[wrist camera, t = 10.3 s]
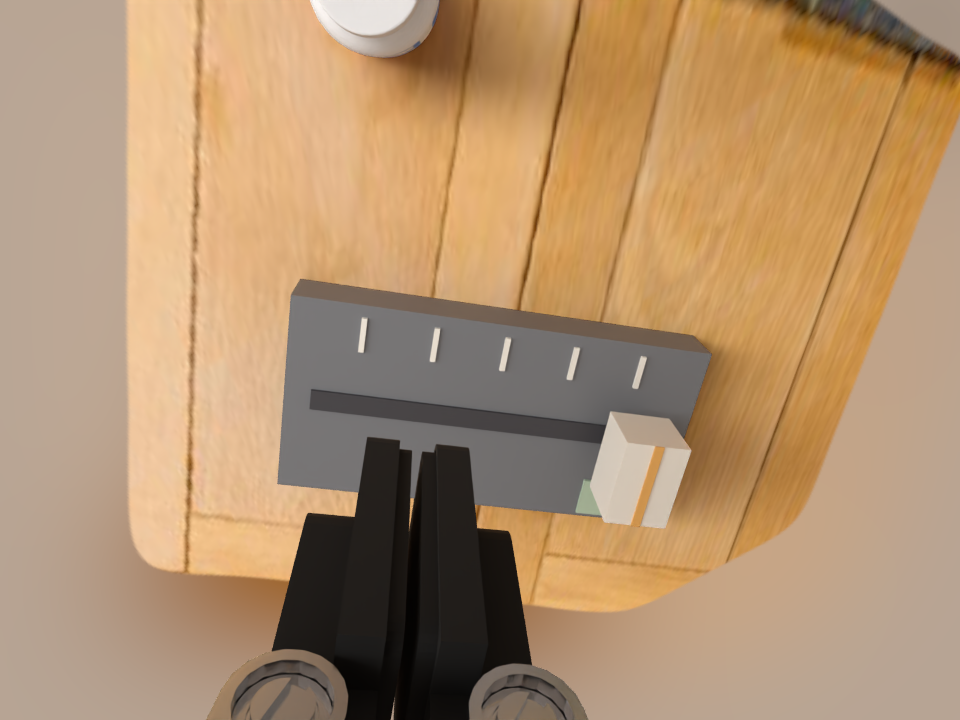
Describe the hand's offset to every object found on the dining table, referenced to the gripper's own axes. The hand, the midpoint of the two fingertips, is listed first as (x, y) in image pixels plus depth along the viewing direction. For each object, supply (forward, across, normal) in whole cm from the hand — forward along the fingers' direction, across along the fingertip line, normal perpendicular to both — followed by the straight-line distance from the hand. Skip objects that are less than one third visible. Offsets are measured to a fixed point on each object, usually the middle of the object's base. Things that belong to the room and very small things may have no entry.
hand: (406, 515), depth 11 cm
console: (+28, -6, +13) cm, 31 cm away
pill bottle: (+29, +3, -8) cm, 31 cm away
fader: (+25, -14, +13) cm, 31 cm away
